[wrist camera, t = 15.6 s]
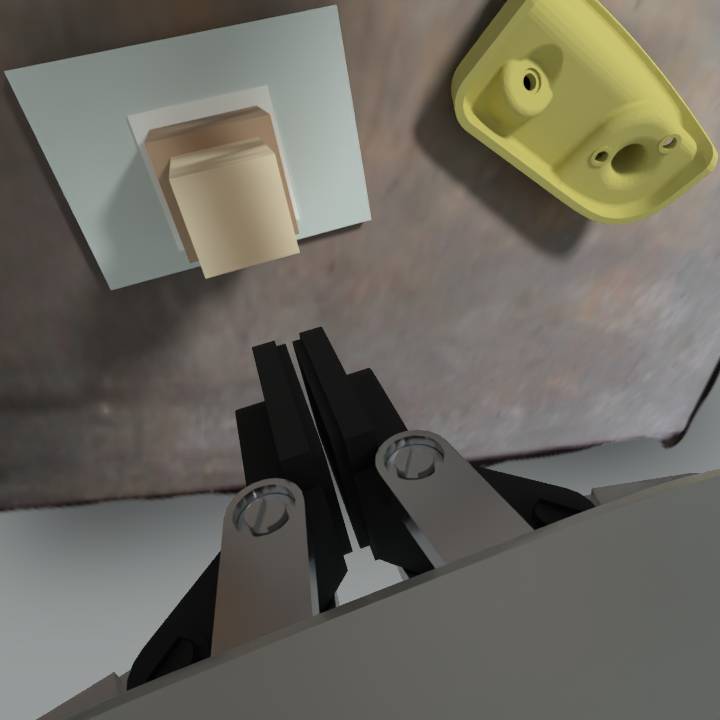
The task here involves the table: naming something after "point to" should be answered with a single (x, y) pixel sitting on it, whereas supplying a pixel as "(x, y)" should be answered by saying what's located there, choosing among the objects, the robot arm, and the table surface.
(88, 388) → the table surface
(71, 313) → the table surface
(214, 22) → the table surface
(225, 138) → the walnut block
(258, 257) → the maple block
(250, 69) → the board
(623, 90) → the plastic component
